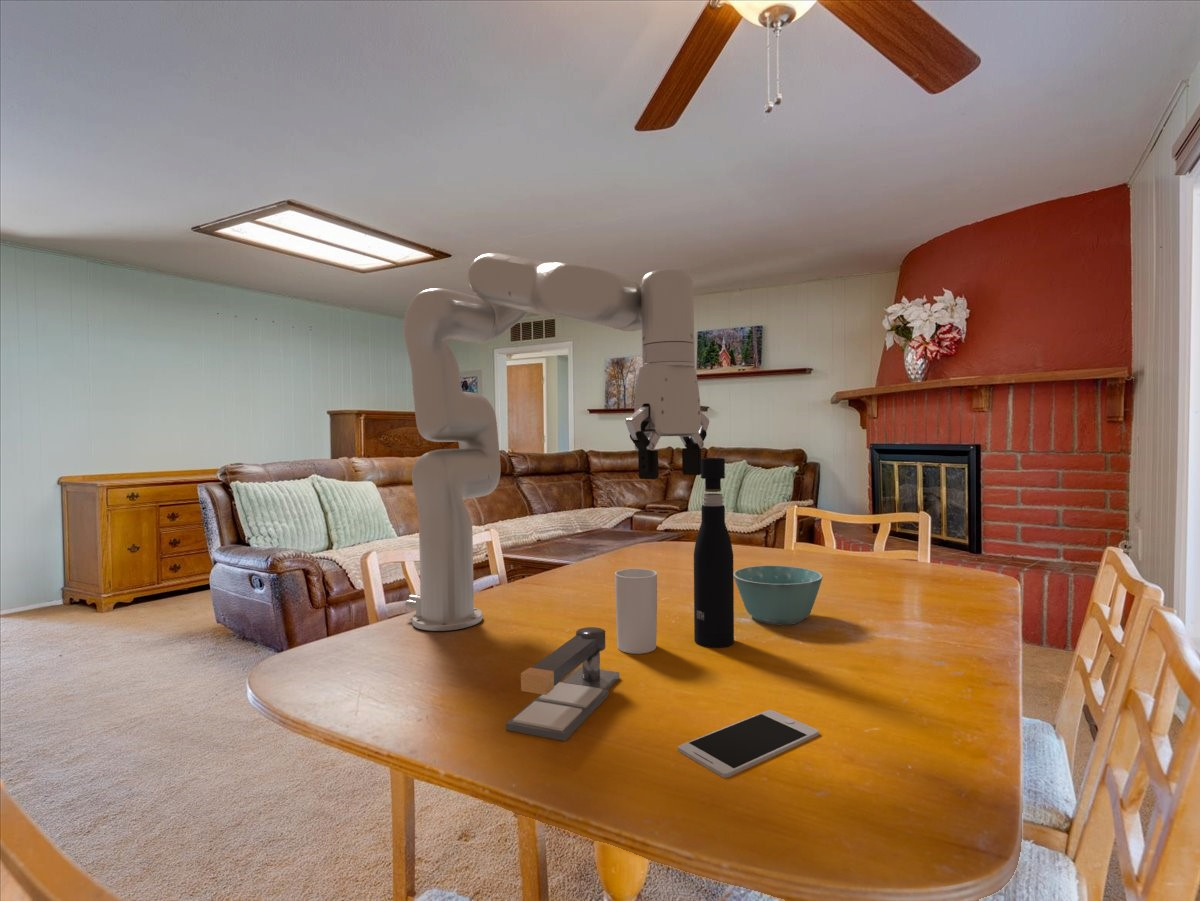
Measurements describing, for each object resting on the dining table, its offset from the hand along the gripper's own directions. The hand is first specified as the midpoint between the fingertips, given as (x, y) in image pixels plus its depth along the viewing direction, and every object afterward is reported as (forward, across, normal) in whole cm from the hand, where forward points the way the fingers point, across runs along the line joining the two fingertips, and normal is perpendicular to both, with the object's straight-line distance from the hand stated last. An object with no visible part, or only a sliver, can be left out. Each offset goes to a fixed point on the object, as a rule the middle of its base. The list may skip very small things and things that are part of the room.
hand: (671, 476), depth 92 cm
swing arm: (+23, +19, -2) cm, 30 cm away
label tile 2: (+28, +18, -2) cm, 33 cm away
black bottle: (+28, -14, -3) cm, 31 cm away
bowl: (+28, -32, -2) cm, 43 cm away
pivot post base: (+28, +12, -5) cm, 31 cm away
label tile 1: (+28, +24, +1) cm, 37 cm away
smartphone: (+29, +11, +20) cm, 37 cm away
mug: (+28, -3, -12) cm, 30 cm away
